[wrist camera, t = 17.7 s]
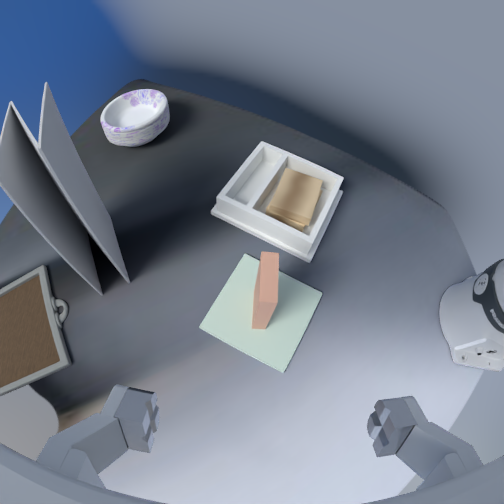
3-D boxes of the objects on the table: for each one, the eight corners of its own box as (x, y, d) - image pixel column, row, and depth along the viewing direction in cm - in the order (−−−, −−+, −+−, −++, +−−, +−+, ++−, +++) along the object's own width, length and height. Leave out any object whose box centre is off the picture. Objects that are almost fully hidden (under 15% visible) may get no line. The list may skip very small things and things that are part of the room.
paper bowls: (102, 159, 58) (91, 133, 51) (116, 117, 65) (109, 93, 58) (168, 153, 60) (162, 124, 53) (175, 111, 67) (171, 85, 60)
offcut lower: (320, 197, 55) (322, 190, 53) (301, 232, 51) (304, 226, 50) (286, 181, 56) (288, 174, 55) (265, 215, 52) (266, 208, 51)
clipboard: (-43, 316, 38) (54, 258, 46) (-39, 319, 39) (58, 262, 47) (-28, 405, 31) (81, 358, 39) (-23, 406, 32) (86, 359, 40)
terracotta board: (266, 291, 47) (279, 253, 35) (265, 329, 44) (277, 302, 32) (254, 290, 47) (261, 251, 35) (251, 328, 44) (259, 301, 32)
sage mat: (321, 294, 47) (322, 293, 47) (283, 373, 41) (283, 372, 41) (244, 254, 50) (244, 253, 49) (199, 327, 44) (199, 327, 43)
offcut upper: (320, 187, 54) (323, 180, 52) (308, 225, 50) (311, 219, 48) (284, 175, 54) (285, 167, 53) (268, 211, 50) (269, 204, 49)
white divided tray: (341, 194, 57) (349, 178, 53) (309, 263, 50) (317, 249, 45) (256, 155, 60) (258, 137, 56) (211, 214, 53) (209, 196, 49)
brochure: (85, 228, 50) (9, 102, 24) (110, 217, 52) (47, 81, 25) (101, 295, 45) (-8, 176, 18) (130, 282, 46) (40, 148, 20)
